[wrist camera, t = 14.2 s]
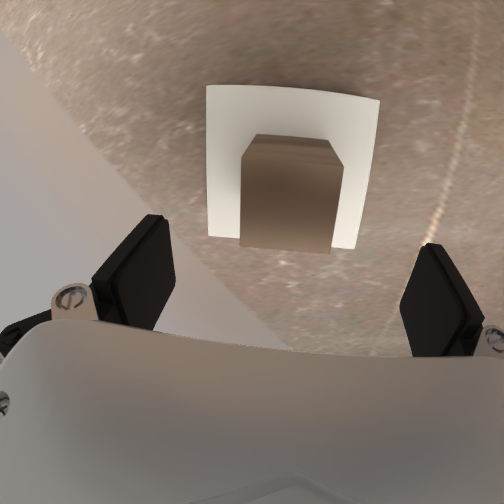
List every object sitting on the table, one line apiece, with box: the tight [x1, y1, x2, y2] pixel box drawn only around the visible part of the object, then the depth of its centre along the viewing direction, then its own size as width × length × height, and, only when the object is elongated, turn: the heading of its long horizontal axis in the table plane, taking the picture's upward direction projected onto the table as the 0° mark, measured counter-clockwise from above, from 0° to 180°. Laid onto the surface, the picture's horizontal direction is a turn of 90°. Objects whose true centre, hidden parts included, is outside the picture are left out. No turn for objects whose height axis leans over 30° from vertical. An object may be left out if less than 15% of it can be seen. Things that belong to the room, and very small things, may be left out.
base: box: [206, 85, 380, 249], centre depth 23 cm, size 12×12×4 cm
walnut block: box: [240, 134, 344, 254], centre depth 18 cm, size 5×5×7 cm
